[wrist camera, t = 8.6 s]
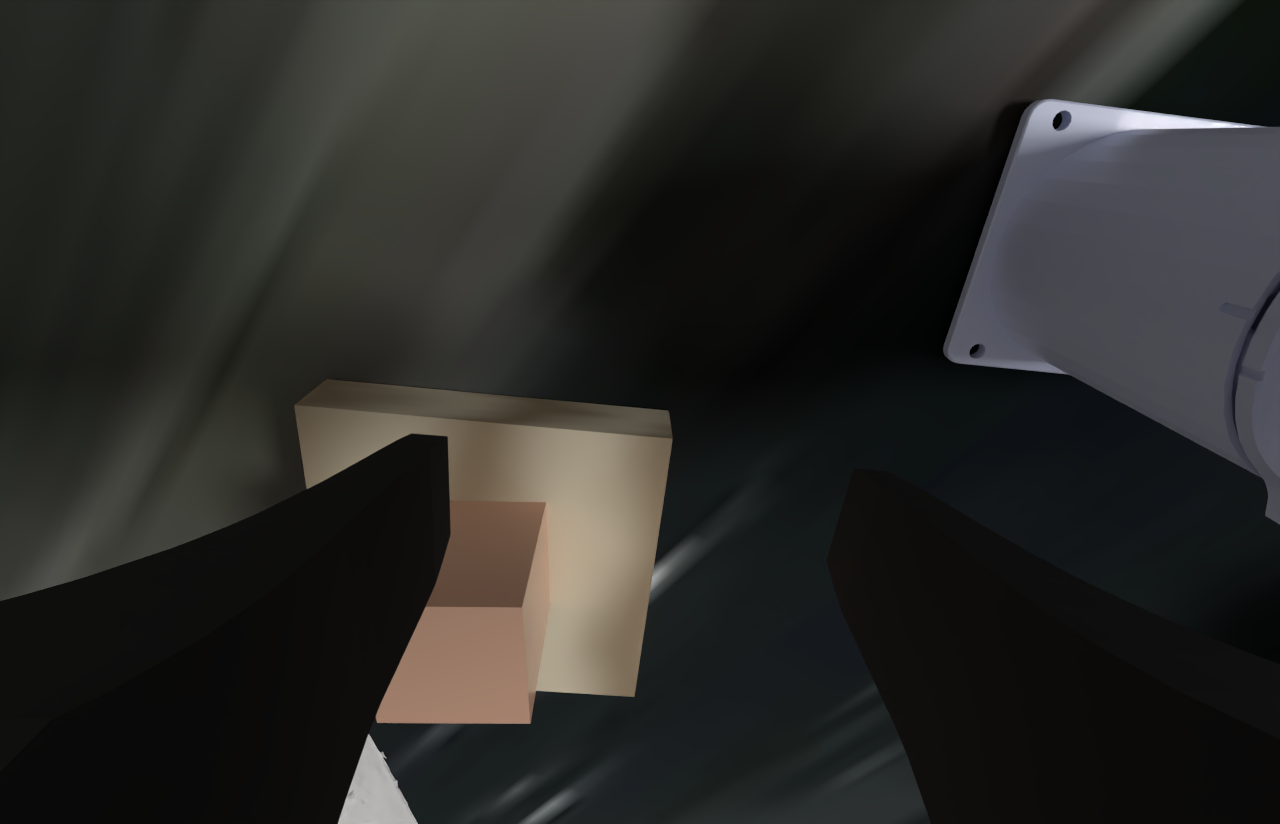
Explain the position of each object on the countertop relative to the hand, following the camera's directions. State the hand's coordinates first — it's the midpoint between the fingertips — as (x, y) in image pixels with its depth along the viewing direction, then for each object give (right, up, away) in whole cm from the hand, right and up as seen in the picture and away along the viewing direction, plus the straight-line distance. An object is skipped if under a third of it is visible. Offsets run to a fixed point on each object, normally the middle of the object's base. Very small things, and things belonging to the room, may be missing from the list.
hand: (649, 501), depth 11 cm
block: (-6, -3, +11) cm, 12 cm away
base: (-6, -3, +13) cm, 14 cm away
